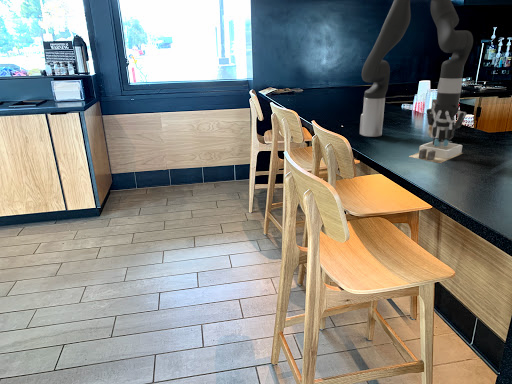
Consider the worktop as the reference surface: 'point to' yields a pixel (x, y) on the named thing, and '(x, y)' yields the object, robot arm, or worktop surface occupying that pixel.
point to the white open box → (442, 149)
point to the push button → (441, 133)
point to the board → (430, 156)
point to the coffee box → (434, 119)
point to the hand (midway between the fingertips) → (442, 137)
